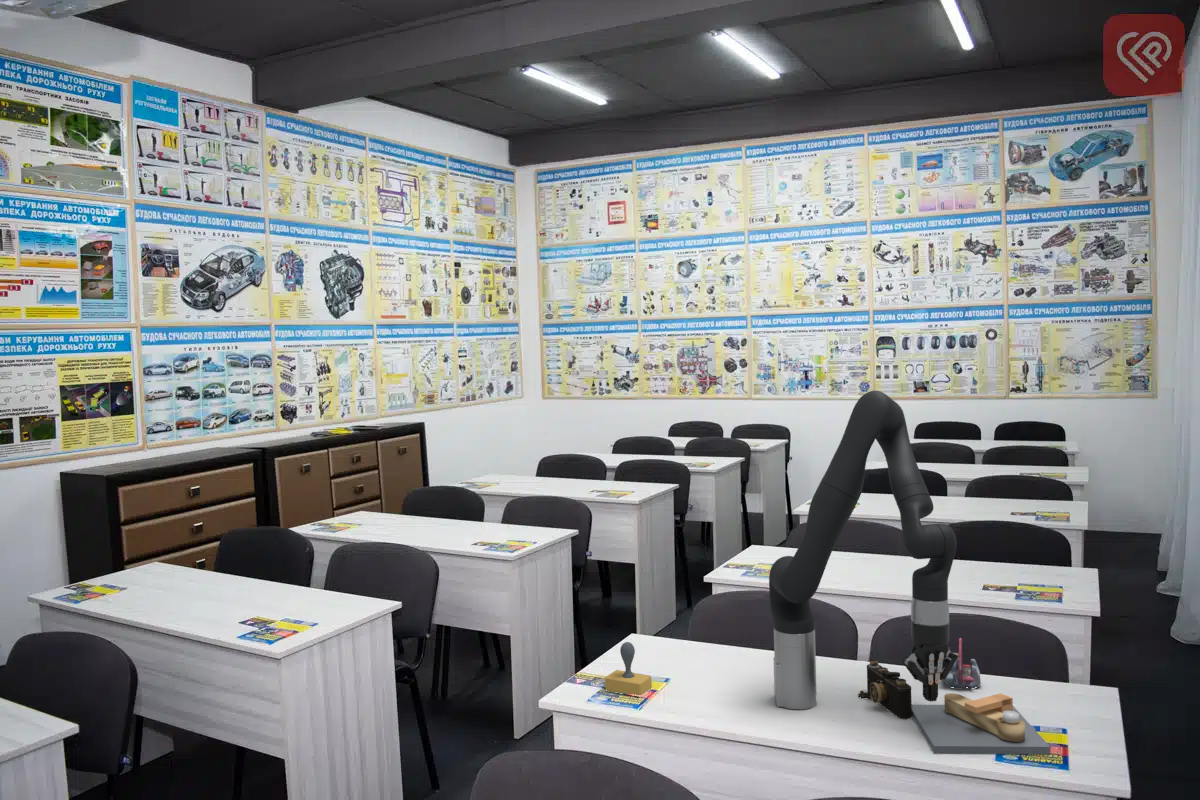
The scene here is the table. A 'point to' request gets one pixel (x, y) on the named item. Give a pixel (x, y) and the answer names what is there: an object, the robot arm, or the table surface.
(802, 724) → the table surface
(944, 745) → the base plate
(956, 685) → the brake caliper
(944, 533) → the robot arm
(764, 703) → the table surface
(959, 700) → the latch lever
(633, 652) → the rubber stamp
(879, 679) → the camera
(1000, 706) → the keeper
